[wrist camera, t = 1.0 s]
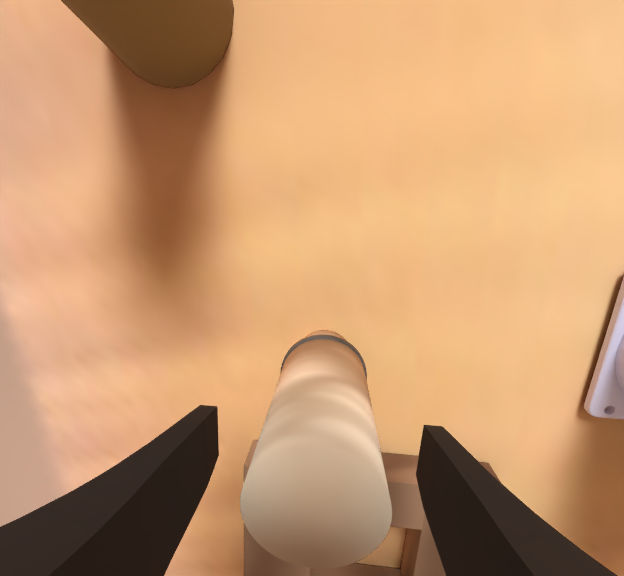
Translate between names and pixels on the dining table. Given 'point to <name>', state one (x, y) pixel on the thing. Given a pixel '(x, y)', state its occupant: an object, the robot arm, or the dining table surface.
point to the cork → (161, 35)
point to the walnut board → (405, 513)
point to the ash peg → (318, 461)
